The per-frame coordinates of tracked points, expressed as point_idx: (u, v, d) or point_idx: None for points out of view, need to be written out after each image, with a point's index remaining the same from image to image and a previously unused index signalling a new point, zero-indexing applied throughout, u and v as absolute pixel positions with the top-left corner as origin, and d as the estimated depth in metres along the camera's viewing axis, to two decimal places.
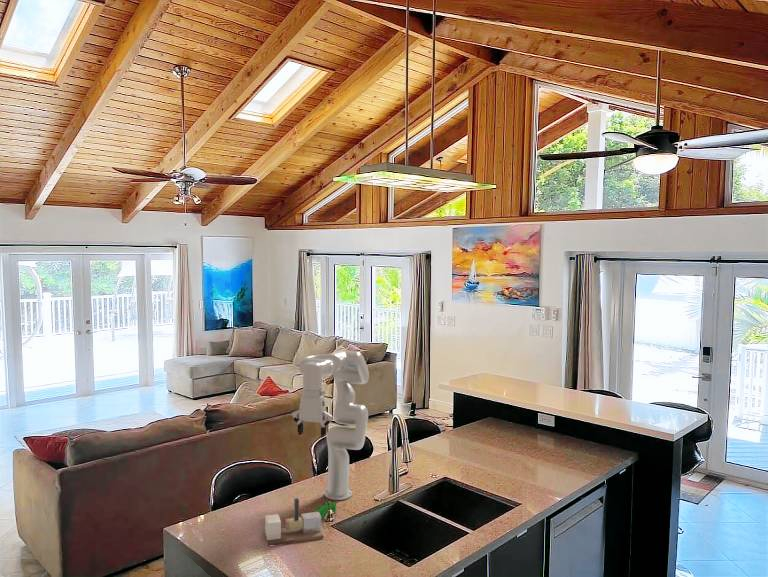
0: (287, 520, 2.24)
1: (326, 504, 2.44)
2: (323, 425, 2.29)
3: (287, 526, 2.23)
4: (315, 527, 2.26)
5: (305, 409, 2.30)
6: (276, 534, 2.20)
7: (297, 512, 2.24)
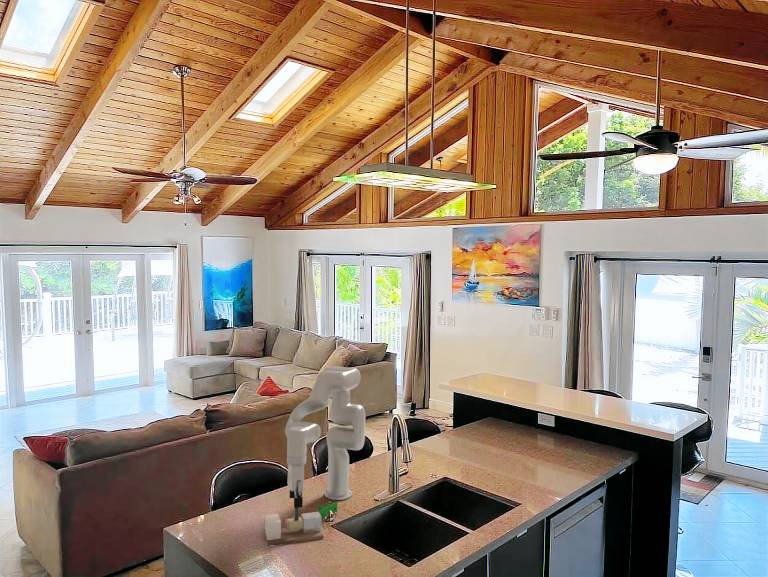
0: (287, 520, 2.24)
1: (328, 504, 2.44)
2: None
3: (287, 526, 2.23)
4: (315, 527, 2.26)
5: None
6: (276, 534, 2.20)
7: (297, 512, 2.24)
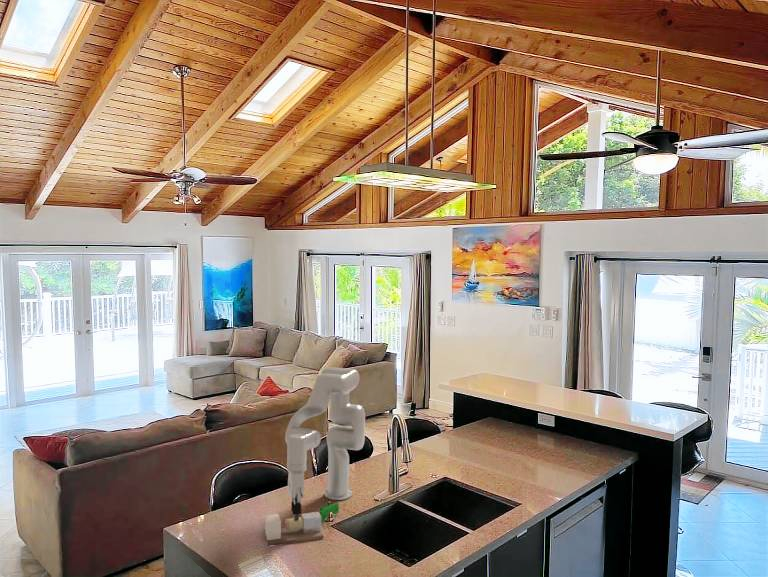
0: (287, 520, 2.24)
1: (329, 505, 2.44)
2: None
3: (287, 526, 2.23)
4: (315, 527, 2.26)
5: None
6: (276, 534, 2.20)
7: None
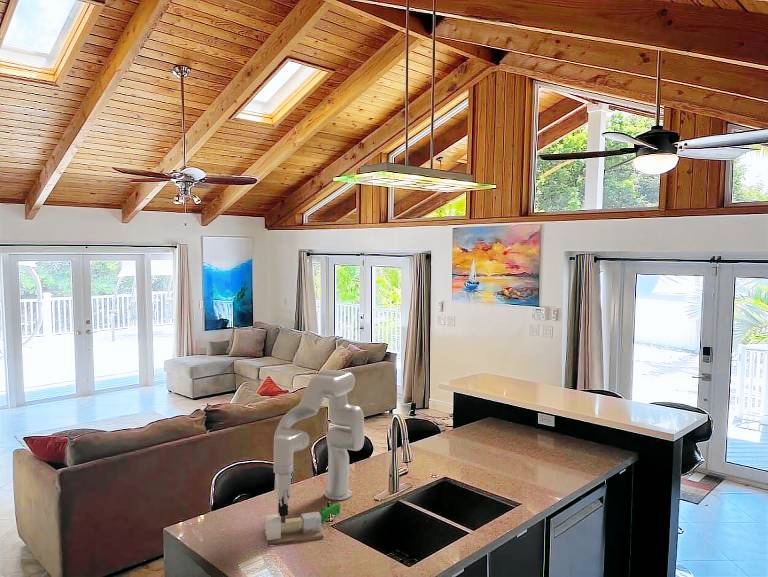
0: None
1: (330, 505, 2.43)
2: None
3: None
4: (315, 527, 2.26)
5: None
6: (276, 534, 2.20)
7: None
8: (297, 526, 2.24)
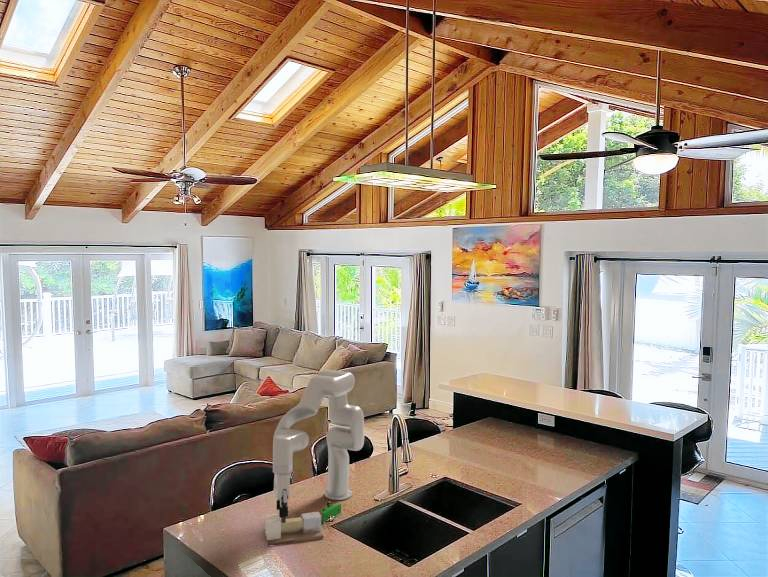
0: None
1: (331, 506, 2.43)
2: None
3: None
4: (315, 527, 2.26)
5: None
6: (276, 534, 2.20)
7: None
8: (297, 526, 2.24)
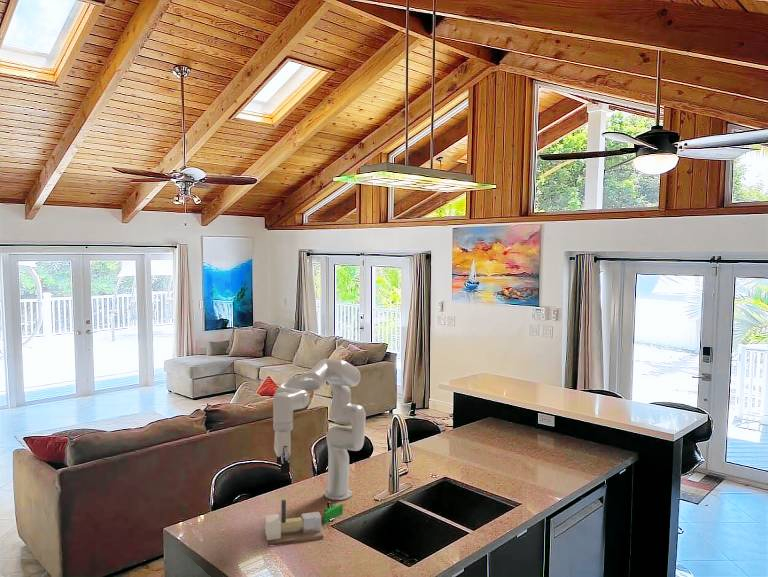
0: None
1: (333, 506, 2.42)
2: None
3: None
4: (315, 527, 2.26)
5: None
6: (276, 534, 2.20)
7: (284, 514, 2.23)
8: (297, 526, 2.24)
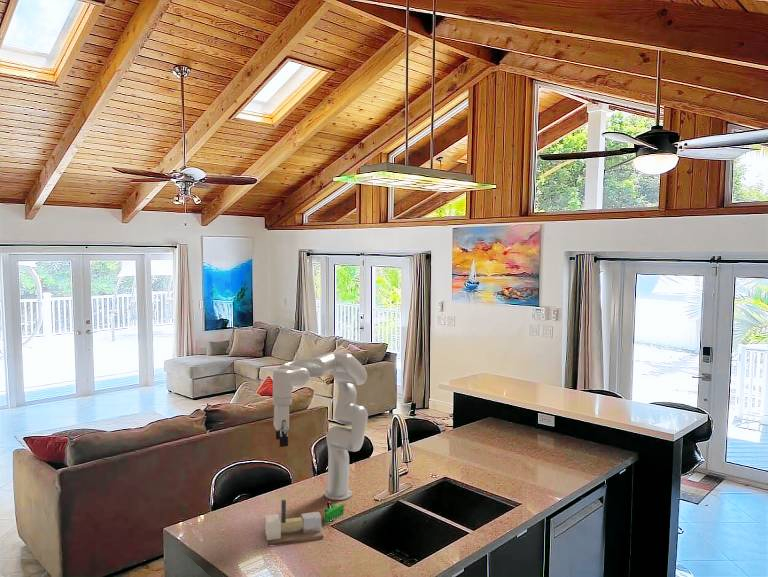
0: None
1: (334, 506, 2.42)
2: None
3: None
4: (315, 527, 2.26)
5: None
6: (276, 534, 2.20)
7: (284, 514, 2.23)
8: (297, 526, 2.24)
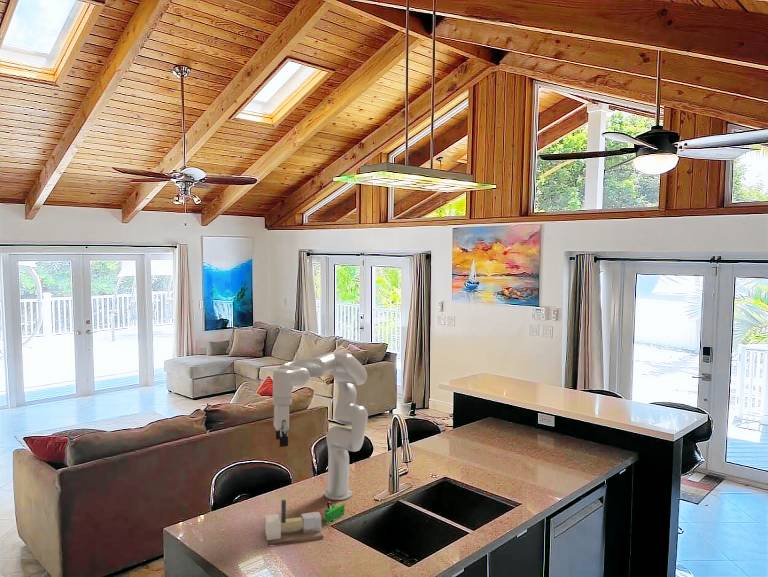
0: None
1: (334, 507, 2.42)
2: None
3: None
4: (315, 527, 2.26)
5: None
6: (276, 534, 2.20)
7: (284, 514, 2.23)
8: (297, 526, 2.24)
